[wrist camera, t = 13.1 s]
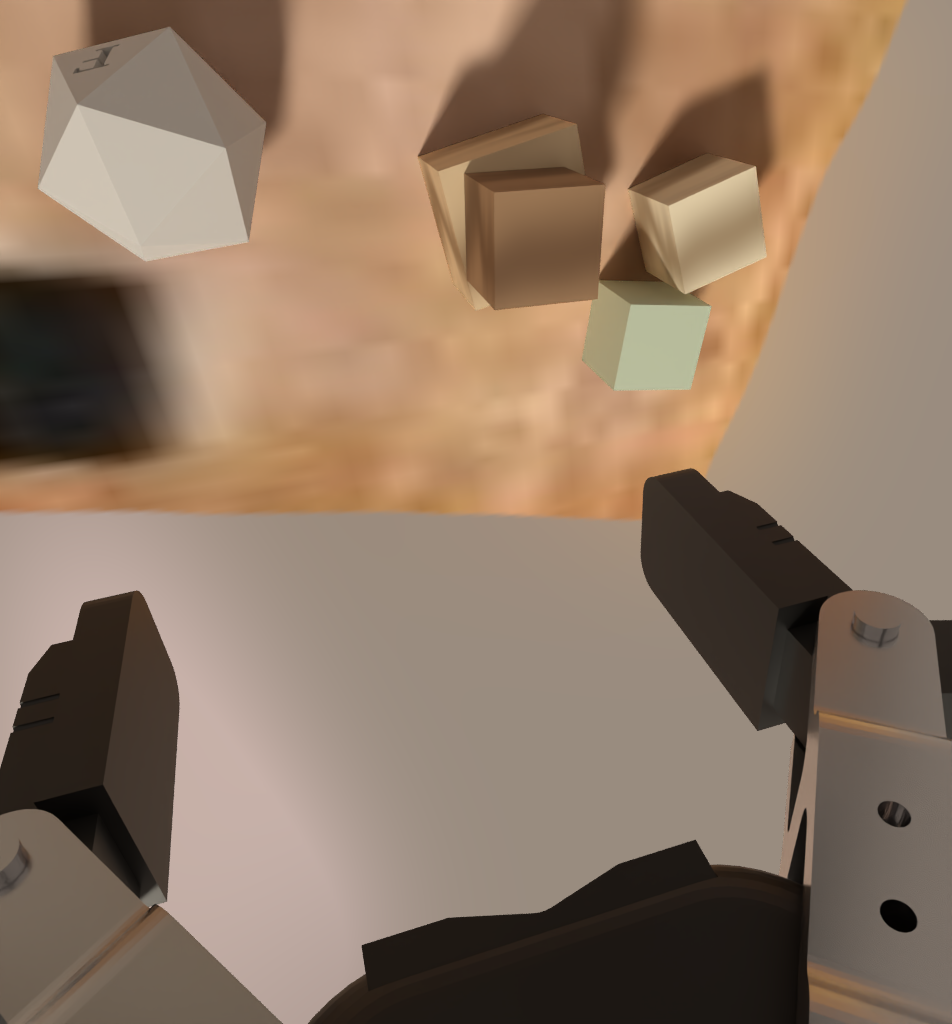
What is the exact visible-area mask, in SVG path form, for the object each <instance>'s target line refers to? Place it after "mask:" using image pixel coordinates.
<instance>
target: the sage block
mask: <svg viewBox="0 0 952 1024" xmlns="http://www.w3.org/2000/svg"><path fill="white" fill-rule="evenodd" d="M710 310H711V306H710V305H709V304H707V303H705V302H704V301H702V300H700V299H699V298H697V297H695V296H694V295H692V294H690V293H687V294H684V293H682V292H681V291H679V290H677V289H675V288H674V287H672V286H670V285H669V284H667V283H665V282H654V281H619V280H599V288H598V299H595V300H592V304H591V310H590V316H589V322H588V327H587V333H586V339H585V345H584V351H583V356H582V361H583V362H584V363H585V364H587V365H588V366H589V367H590V368H591V369H592V370H593V371H594V372H595V373H596V374H597V375H598V376H599V377H600V378H601V379H602V380H603V381H604V382H605V383H606V384H607V385H608V386H610V387H611V388H612V389H613V390H686V389H691V385H692V381H693V377H694V373H695V369H696V365H697V361H698V358H699V354H700V350H701V346H702V342H703V338H704V334H705V330H706V326H707V322H708V318H709V314H710Z"/></svg>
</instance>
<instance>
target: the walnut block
mask: <svg viewBox="0 0 952 1024" xmlns="http://www.w3.org/2000/svg"><path fill="white" fill-rule="evenodd" d="M464 195H465V236H466V276H467V281H468V282H469V283H470V284H471V285H472V286H473V287H474V288H475V290H476V291H477V292H478V293H479V294H480V295H481V296H482V297H483V298H484V299H485V300H486V301H487V302H488V303H489V304H490V306H491V307H492V308H493V309H494V310H501V309H510V308H520V307H529V306H539V305H548V304H557V303H567V302H576V301H585V300H595V299H598V288H599V273H600V258H601V243H602V228H603V213H604V198H605V184H603V183H601V182H598V181H596V180H594V179H591V178H589V177H587V176H585V175H582V174H580V173H578V172H575V171H573V170H571V169H568V168H566V167H551V168H536V169H521V170H506V171H491V172H477V173H464Z"/></svg>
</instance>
